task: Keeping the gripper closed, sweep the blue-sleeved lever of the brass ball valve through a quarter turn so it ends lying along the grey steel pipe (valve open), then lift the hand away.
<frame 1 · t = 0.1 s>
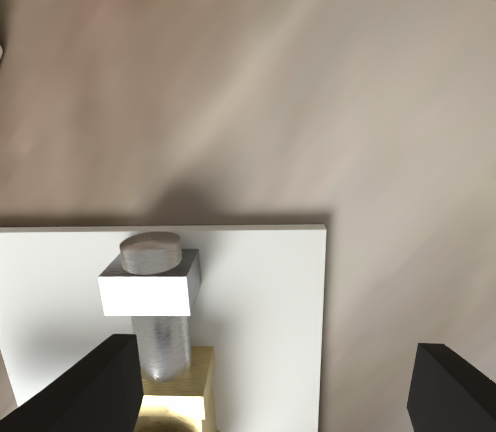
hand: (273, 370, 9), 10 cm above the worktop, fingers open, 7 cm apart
valve: (181, 388, 22), resting on board
board: (162, 362, 22), on the worktop
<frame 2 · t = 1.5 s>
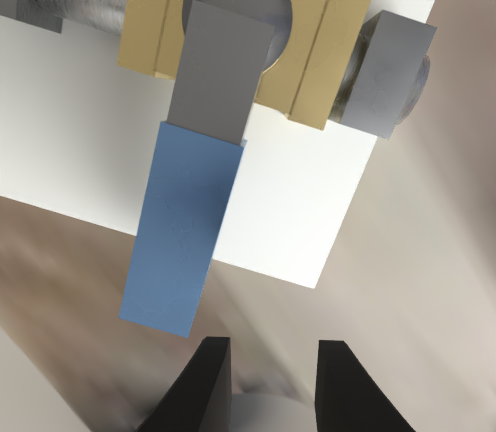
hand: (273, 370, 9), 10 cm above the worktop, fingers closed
valve: (247, 45, 16), resting on board
board: (199, 54, 16), on the worktop
lever: (199, 163, 12), point 6 cm above the worktop, hinge at 90.0°
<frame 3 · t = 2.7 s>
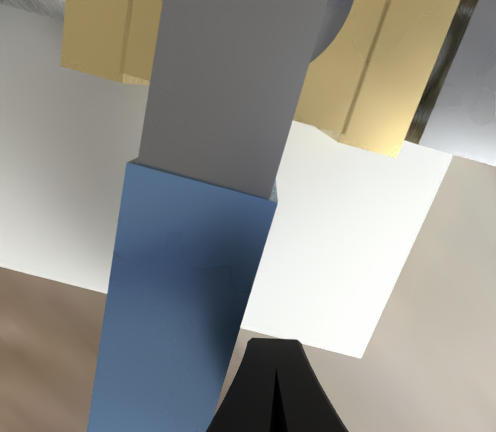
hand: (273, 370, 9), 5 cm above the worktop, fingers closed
valve: (262, 31, 11), resting on board
board: (195, 47, 12), on the worktop
lever: (199, 223, 7), point 6 cm above the worktop, hinge at 90.0°, touching gripper
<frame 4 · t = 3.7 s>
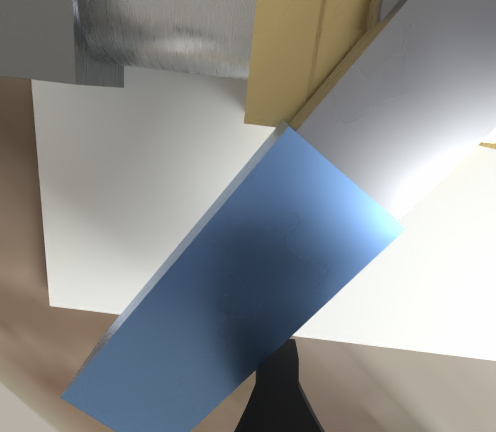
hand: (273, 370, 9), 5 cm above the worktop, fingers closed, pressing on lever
valve: (381, 51, 11), resting on board
board: (313, 77, 12), on the worktop
lever: (298, 211, 7), point 6 cm above the worktop, hinge at 56.7°, touching gripper
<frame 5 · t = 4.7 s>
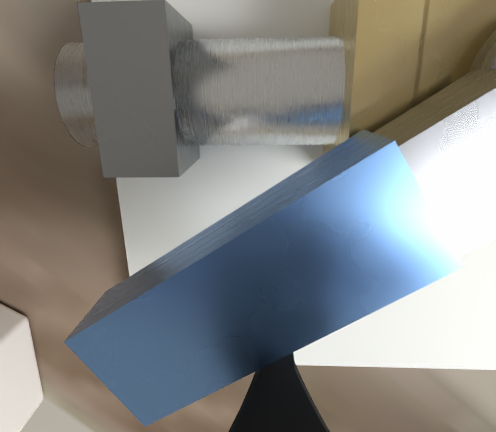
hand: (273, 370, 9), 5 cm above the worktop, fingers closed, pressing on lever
valve: (442, 91, 12), resting on board
board: (377, 123, 12), on the worktop
lever: (356, 221, 7), point 6 cm above the worktop, hinge at 32.9°, touching gripper
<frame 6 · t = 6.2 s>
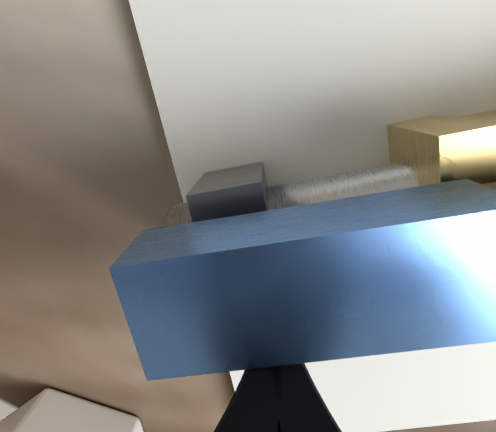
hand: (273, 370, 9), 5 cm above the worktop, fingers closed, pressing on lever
board: (441, 206, 13), on the worktop
lever: (434, 260, 7), point 6 cm above the worktop, hinge at -1.1°, touching gripper
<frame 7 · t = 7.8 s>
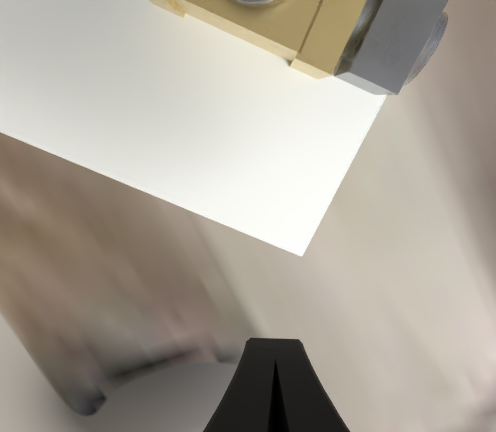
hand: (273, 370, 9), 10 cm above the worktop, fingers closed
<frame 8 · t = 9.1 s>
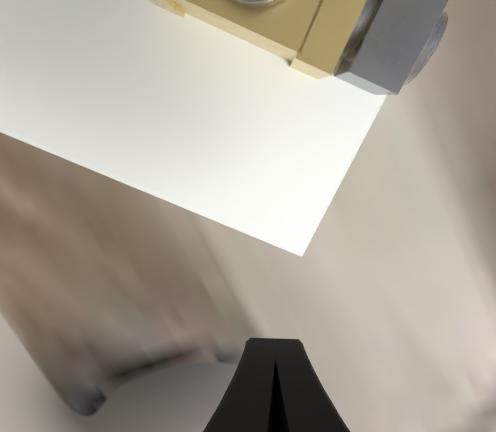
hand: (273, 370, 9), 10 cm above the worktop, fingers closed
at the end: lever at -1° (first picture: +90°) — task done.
